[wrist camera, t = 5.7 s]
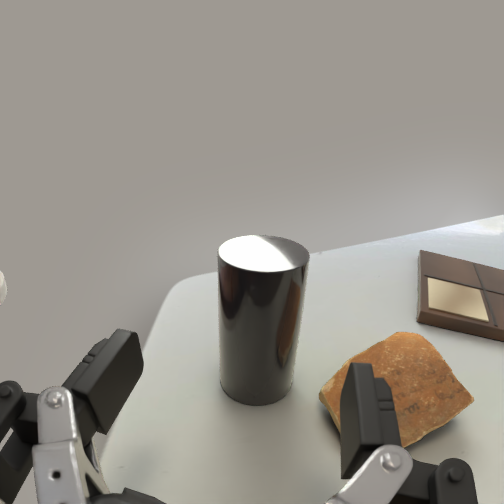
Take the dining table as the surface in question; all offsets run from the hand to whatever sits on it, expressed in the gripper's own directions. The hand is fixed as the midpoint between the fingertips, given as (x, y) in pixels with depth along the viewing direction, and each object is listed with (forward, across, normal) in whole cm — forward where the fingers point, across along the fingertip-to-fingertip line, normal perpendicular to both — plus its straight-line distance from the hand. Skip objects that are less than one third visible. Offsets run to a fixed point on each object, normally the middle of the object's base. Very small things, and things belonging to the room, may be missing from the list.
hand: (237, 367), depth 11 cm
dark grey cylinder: (+6, 0, +7) cm, 9 cm away
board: (+20, -23, +7) cm, 31 cm away
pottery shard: (+6, -9, +7) cm, 13 cm away
